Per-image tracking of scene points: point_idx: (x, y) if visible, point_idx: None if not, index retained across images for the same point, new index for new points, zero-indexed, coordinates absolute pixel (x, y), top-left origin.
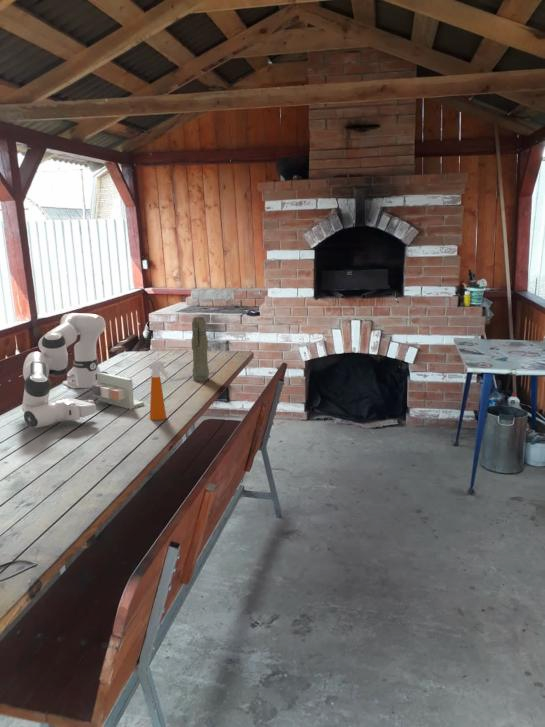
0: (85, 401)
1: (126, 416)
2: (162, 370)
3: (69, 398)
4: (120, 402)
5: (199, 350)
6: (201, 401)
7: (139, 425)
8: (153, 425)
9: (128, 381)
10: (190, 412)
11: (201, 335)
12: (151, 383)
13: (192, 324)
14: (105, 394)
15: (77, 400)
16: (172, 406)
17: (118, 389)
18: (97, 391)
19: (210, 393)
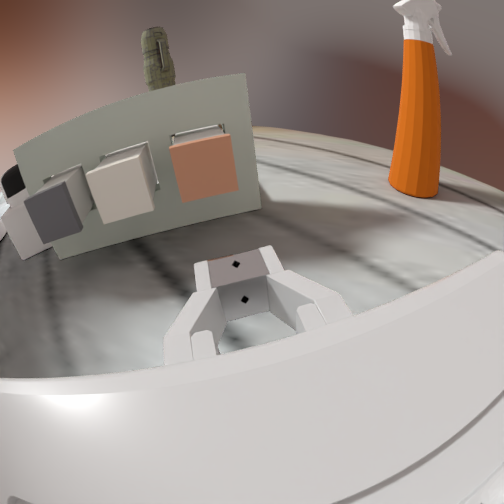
0: (207, 314)
1: (358, 234)
2: (439, 27)
3: (6, 421)
4: (190, 206)
5: (169, 78)
6: (308, 134)
7: (480, 231)
8: (479, 209)
9: (244, 80)
10: (384, 151)
11: (167, 52)
12: (426, 64)
13: (147, 38)
14: (127, 198)
15: (193, 413)
16: (313, 155)
17: (194, 137)
18: (64, 213)
19: (264, 127)
